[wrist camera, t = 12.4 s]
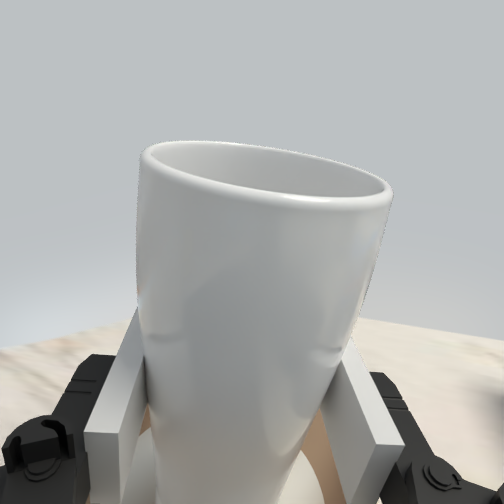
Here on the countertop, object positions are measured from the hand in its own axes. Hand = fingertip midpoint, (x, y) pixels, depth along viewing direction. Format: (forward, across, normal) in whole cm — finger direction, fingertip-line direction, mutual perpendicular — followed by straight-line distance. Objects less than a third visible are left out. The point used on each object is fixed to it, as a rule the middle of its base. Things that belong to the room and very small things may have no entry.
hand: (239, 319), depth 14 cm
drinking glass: (-3, 0, -8) cm, 9 cm away
